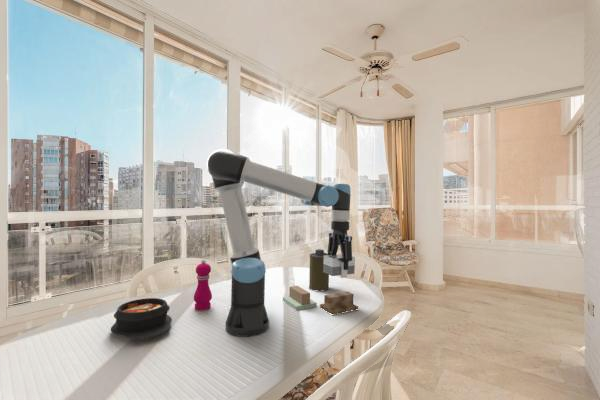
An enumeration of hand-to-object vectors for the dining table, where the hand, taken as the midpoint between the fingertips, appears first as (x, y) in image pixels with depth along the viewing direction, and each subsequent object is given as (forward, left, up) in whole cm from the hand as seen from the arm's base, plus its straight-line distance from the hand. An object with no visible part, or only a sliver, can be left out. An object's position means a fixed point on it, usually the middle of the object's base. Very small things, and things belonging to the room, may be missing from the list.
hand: (338, 275), depth 124 cm
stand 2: (0, 0, -14) cm, 14 cm away
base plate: (0, 0, +1) cm, 1 cm away
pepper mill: (-51, +25, -14) cm, 58 cm away
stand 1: (-12, +13, -14) cm, 22 cm away
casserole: (-73, +13, -15) cm, 75 cm away
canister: (+8, +29, -14) cm, 33 cm away
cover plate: (0, 0, +4) cm, 4 cm away
